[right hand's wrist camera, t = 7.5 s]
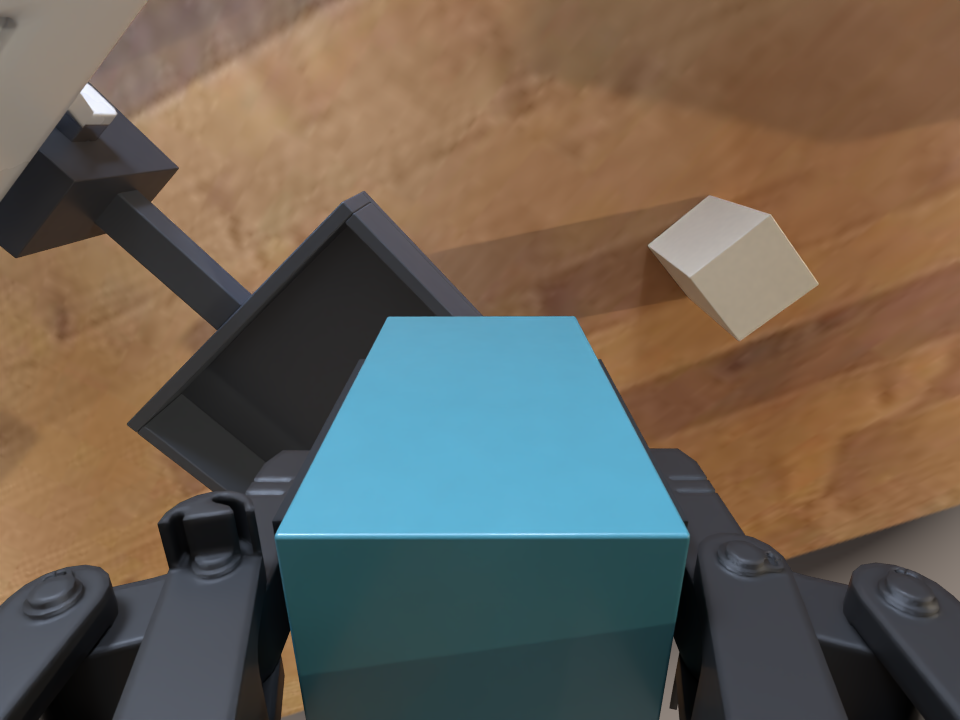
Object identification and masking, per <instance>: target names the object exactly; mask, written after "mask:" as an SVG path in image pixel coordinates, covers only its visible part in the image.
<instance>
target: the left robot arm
mask: <svg viewBox="0 0 960 720" xmlns="http://www.w3.org/2000/svg"><path fill="white" fill-rule="evenodd" d="M147 1H148V0H0V202H1V200H2V199H3V198H4V196H5V195H6V194H7V192H8V191H9V189H10V188H11V187H12V185H13V184H14V183H15V181H16V180H17V179H18V177H19V176H20V174H21V173H22V172H23V170H24V169H25V168H26V166H27V165H28V163H29V162H30V161H31V159H32V158H33V157H34V155H35V154H36V153H37V151H38V150H39V148H40V147H41V146H42V144H43V143H44V142H45V140H46V139H47V137H48V136H49V135H50V133H51V132H52V131H53V129H54V128H55V127H56V128H57V129H58V130H59V131H60V132H61V133H62V134H63V135H65V136H66V137H67V138H68V139H69V140H70V141H71V142H85V141H87V140H89V141H96V140H97V139H98V138H99V137H100V135H101V134H102V133H103V132H104V130H105V129H106V128H107V127H108V125H109V124H111V122H112V121H113V120H114V118H115V117H116V115H117V112H116V110H115V108H114V107H113V106H112V105H111V104H109V103H108V102H107V101H106V100H105V99H104V98H103V97H102V96H101V95H100V94H99V93H98V92H97V91H96V90H95V89H94V88H93V87H92V86H90V85H89V84H88V81H89V80H90V79H91V77H92V76H93V75H94V73H95V72H96V70H97V69H98V68H99V66H100V65H101V64H102V62H103V61H104V59H105V58H106V57H107V55H108V54H109V53H110V51H111V50H112V48H113V47H114V46H115V44H116V43H117V42H118V40H119V39H120V38H121V36H122V35H123V33H124V32H125V31H126V29H127V28H128V27H129V25H130V24H131V22H132V21H133V20H134V18H135V17H136V16H137V14H138V13H139V12H140V11H141V9H142V8H143V7H144V5H145V4H146V3H147Z"/></svg>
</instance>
